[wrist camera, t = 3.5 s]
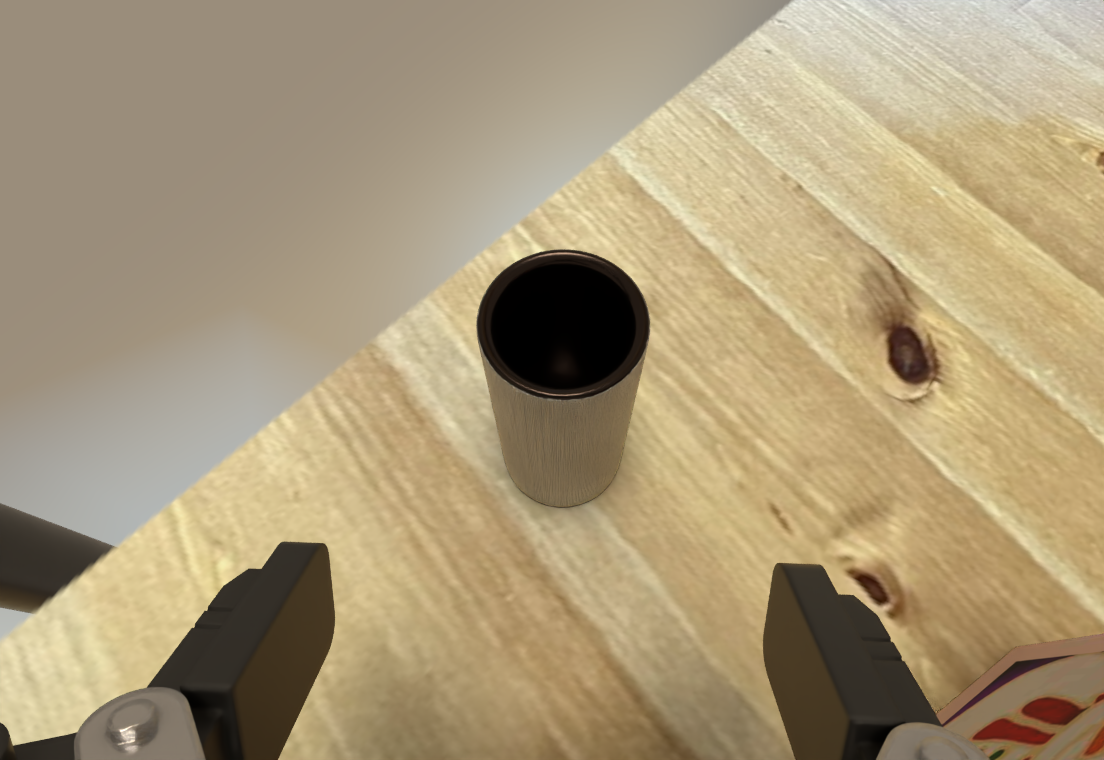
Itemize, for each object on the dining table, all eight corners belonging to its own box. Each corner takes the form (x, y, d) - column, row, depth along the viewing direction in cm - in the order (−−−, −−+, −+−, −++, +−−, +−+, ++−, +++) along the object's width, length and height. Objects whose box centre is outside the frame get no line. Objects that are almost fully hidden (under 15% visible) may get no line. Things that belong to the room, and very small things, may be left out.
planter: (586, 530, 27) (600, 431, 17) (482, 473, 28) (442, 350, 18) (640, 429, 28) (680, 289, 19) (540, 379, 29) (530, 222, 20)
